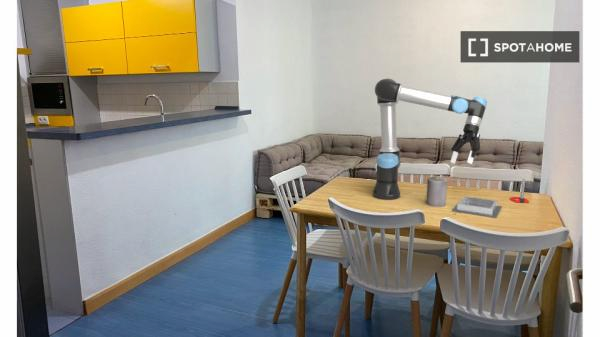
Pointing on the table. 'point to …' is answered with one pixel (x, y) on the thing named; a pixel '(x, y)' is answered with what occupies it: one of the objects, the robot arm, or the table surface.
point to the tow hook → (521, 198)
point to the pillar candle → (436, 191)
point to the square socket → (478, 207)
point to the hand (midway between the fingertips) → (460, 163)
